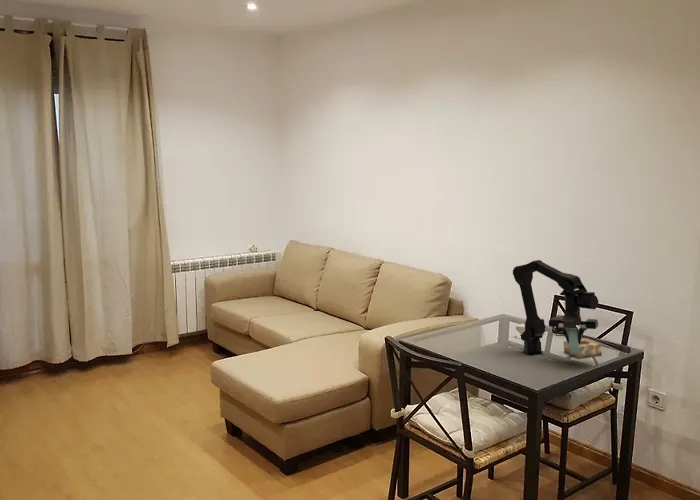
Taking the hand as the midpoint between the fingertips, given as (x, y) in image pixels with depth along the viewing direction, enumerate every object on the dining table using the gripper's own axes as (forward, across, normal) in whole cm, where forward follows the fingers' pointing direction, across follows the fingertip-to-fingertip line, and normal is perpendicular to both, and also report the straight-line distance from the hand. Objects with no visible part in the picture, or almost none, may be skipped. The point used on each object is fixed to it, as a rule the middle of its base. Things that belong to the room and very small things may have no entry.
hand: (573, 343), depth 254 cm
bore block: (+8, +1, +13) cm, 15 cm away
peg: (+4, 0, 0) cm, 4 cm away
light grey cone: (+8, -30, +33) cm, 46 cm away
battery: (+8, -14, +42) cm, 46 cm away
